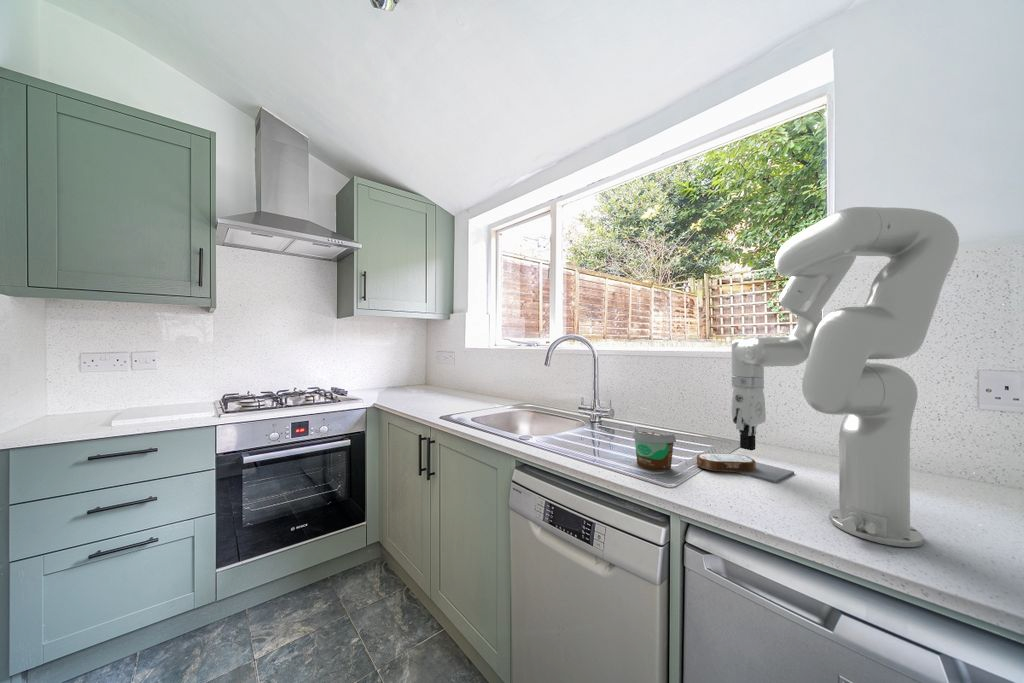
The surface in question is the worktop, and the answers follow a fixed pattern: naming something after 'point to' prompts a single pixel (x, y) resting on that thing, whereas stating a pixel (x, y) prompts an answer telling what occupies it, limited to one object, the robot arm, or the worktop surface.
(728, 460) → the tin
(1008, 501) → the worktop surface
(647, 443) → the food container
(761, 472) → the mat
